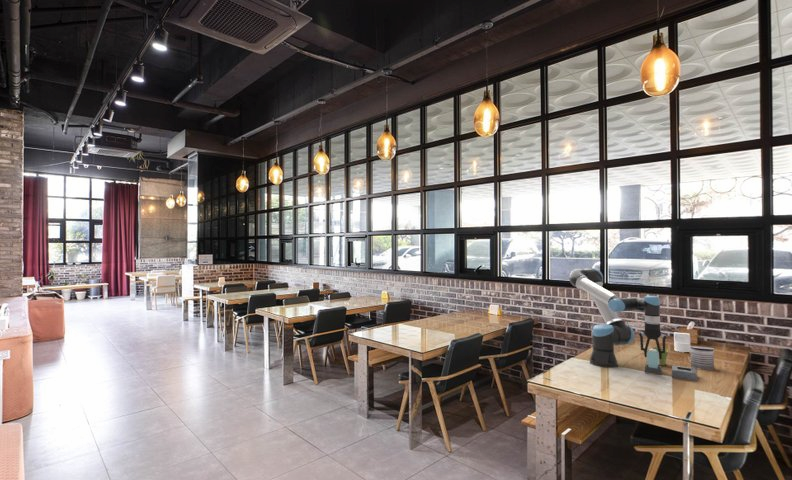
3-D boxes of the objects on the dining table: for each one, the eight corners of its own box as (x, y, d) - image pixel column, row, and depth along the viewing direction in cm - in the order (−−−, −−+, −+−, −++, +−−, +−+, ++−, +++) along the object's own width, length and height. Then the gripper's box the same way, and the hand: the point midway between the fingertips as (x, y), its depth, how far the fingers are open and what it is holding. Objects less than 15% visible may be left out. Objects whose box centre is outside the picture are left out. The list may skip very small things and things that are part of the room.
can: (689, 367, 239) (688, 347, 239) (691, 363, 248) (691, 343, 248) (713, 371, 232) (713, 350, 232) (715, 366, 240) (715, 346, 240)
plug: (648, 372, 231) (647, 349, 231) (649, 370, 234) (648, 348, 235) (657, 373, 228) (657, 350, 228) (658, 371, 232) (657, 349, 232)
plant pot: (671, 366, 241) (671, 352, 241) (654, 366, 243) (653, 351, 243) (664, 362, 250) (664, 348, 250) (647, 361, 252) (647, 347, 252)
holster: (644, 372, 230) (644, 367, 230) (646, 369, 237) (645, 363, 237) (660, 374, 226) (660, 369, 226) (661, 371, 232) (661, 366, 232)
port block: (672, 377, 221) (671, 369, 222) (672, 372, 230) (672, 364, 230) (697, 381, 215) (696, 373, 215) (696, 375, 224) (696, 367, 224)
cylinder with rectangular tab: (689, 350, 278) (689, 332, 278) (690, 353, 270) (690, 335, 270) (674, 348, 282) (673, 331, 283) (674, 351, 275) (674, 333, 275)
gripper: (634, 322, 234) (634, 362, 233) (670, 325, 223) (671, 368, 223) (635, 320, 240) (636, 359, 239) (671, 323, 230) (671, 364, 229)
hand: (653, 363), depth 231 cm, fingers closed on plug, 4 cm apart
